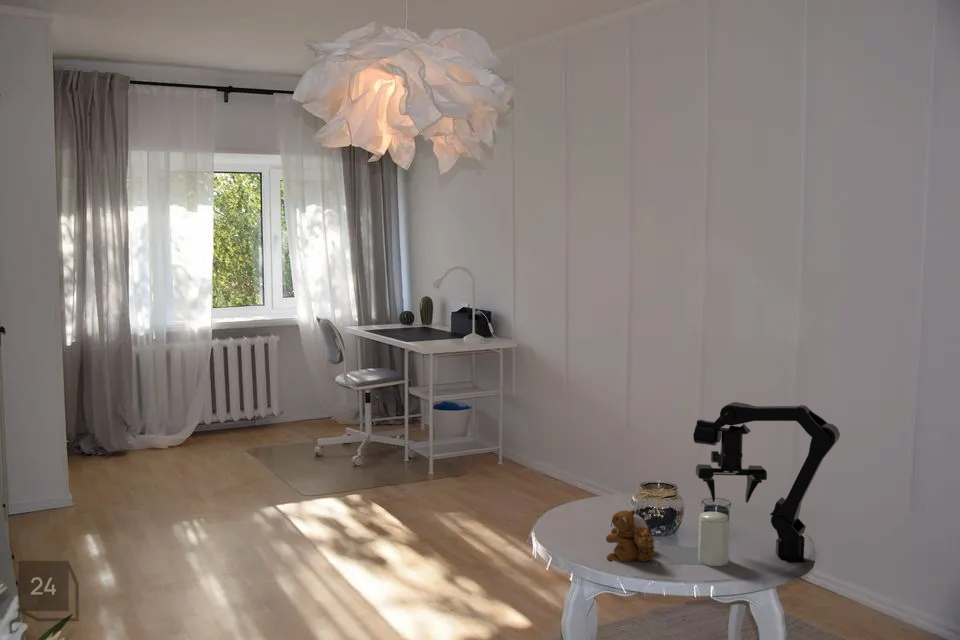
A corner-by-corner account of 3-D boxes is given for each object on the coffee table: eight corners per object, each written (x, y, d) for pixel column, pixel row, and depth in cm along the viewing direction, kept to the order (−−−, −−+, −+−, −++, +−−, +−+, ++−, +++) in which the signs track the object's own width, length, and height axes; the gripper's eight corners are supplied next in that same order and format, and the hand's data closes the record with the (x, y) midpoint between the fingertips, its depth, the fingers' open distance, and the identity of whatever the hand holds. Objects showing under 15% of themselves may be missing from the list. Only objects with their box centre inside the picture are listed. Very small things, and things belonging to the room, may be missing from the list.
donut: (611, 547, 255) (612, 512, 254) (614, 543, 258) (615, 509, 257) (646, 552, 251) (647, 517, 250) (649, 548, 254) (649, 513, 253)
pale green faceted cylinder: (723, 556, 246) (724, 511, 245) (729, 566, 239) (731, 520, 238) (696, 555, 247) (697, 511, 246) (701, 565, 239) (702, 519, 238)
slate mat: (723, 549, 254) (723, 547, 254) (733, 566, 240) (733, 565, 240) (662, 547, 255) (662, 546, 255) (669, 565, 241) (669, 563, 241)
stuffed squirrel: (618, 548, 254) (618, 503, 252) (664, 559, 245) (665, 512, 244) (600, 558, 246) (601, 511, 245) (647, 570, 237) (648, 521, 236)
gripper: (758, 441, 260) (756, 494, 262) (693, 440, 262) (691, 493, 263) (768, 450, 249) (766, 506, 251) (699, 449, 250) (698, 504, 252)
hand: (730, 501), depth 254 cm, fingers open, 9 cm apart
